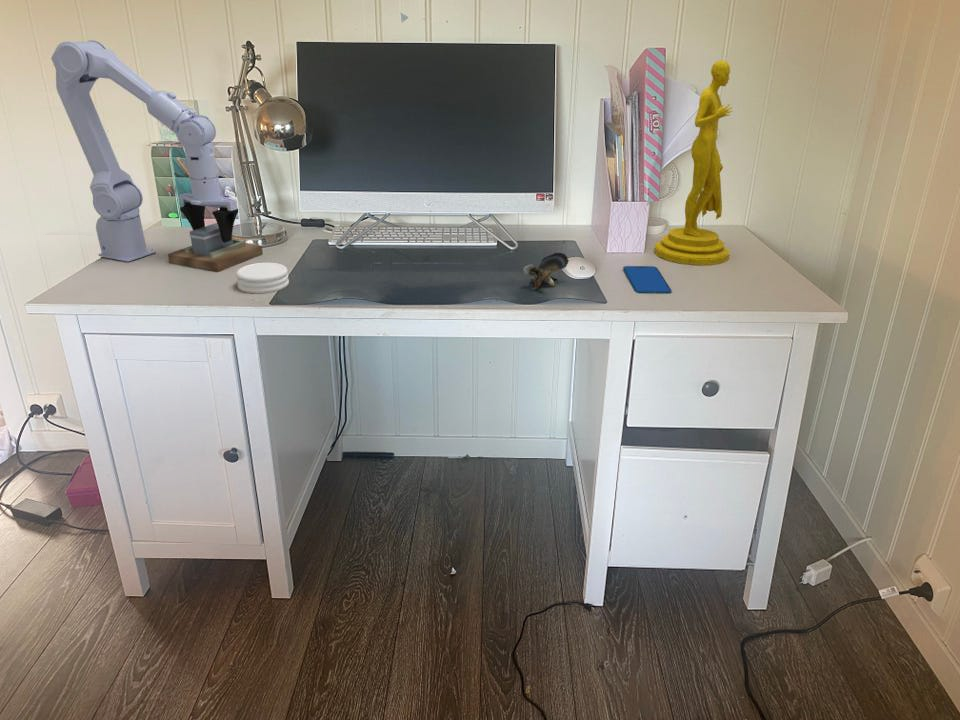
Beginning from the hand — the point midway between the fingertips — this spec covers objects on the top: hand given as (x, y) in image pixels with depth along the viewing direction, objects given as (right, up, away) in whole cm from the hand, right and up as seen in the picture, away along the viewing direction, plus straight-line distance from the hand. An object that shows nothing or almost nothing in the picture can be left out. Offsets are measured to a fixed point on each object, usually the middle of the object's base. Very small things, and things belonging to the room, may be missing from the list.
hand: (213, 239), depth 156 cm
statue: (+108, -2, +7) cm, 108 cm away
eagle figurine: (+72, -12, -12) cm, 74 cm away
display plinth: (0, -4, +2) cm, 4 cm away
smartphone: (+93, -11, -9) cm, 94 cm away
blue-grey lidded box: (0, -2, +1) cm, 2 cm away
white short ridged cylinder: (+15, -12, -13) cm, 23 cm away
